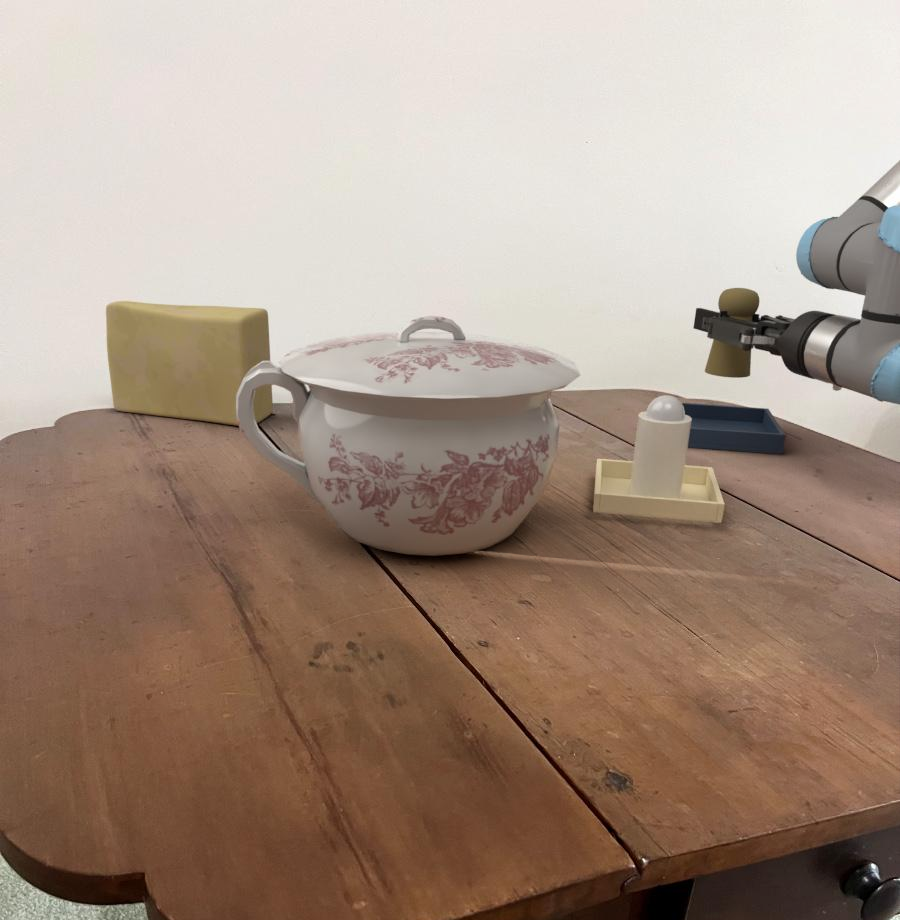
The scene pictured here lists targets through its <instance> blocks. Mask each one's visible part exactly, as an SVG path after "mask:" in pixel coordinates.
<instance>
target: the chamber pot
mask: <svg viewBox="0 0 900 920" xmlns="http://www.w3.org/2000/svg"><path fill="white" fill-rule="evenodd" d="M429 329H431V330H441V331H421V330H429ZM278 365H279V366H277V365H275V364H274V362H272V361H271V360H270V361H262V362H260V363H259V364H257V365H256V366H254V367H252V368H251V369H250V370H249V371H248V373H247V374H246V375H245V376H244V378H243V381H242V383H241V385H240V387H239V389H238V392H237V394H236V418H237V421H238V425H239V426H238V428H239V432H240V433H241V435H242V436H243V437H244V438H245V439H246V440H247V442H248V443H249V444H250V445H251V447H252V448H253V449H254V450H255V451H256V452H257V454H258V455H259V456H260V457H261V458H262V459H264V460H265V461H268V462H269V463H271V464H272V465H274V466H275V467H277V468H278V469H280V470H282V471H284V472H285V474H288V475H289V476H290V477H292V478H293V479H294V481H296V482H297V483H298V484H299V485H300V486H301V487H302V488H303V489H304V490H305V491H306V492H307V493H308V494H309V495H310V496H311V497H312V499H314V501H315V502H316V503H317V504H318V505H319V506H320V507H321V508H323V509H325V511H326V512H327V514H328V516H329V517H330V518H331V520H332V521H333V523H334V524H335V525H336V526H337V528H339V529H340V530H341V531H342V532H343V533H345V535H347V536H349V537H350V538H351V539H353V540H354V541H356V542H358V543H360V544H362V545H366V546H369V547H371V548H375V549H377V550H381V551H386V552H391V553H397V554H402V555H408V556H417V557H418V556H419V557H441V556H453V555H461V554H465V553H471V552H474V551H479V550H484V549H488V548H491V547H492V546H494V545H496V544H498V543H501V542H503V541H505V540H506V539H508V538H509V536H511V535H513V533H514V532H515V531H516V530H517V529H518V528H519V526H520V525H521V524H523V522H524V520H525V519H526V518H527V516H528V515H529V514H530V512H531V511H532V510H533V508H534V507H535V506H536V504H537V503H538V501H539V500H540V499H541V498H542V496H543V495H544V493H545V492H546V491H547V488H548V485H549V481H550V478H551V475H552V471H553V467H554V465H555V460H556V459H557V454H558V450H559V449H558V448H559V437H560V426H561V425H560V421H559V416H558V413H557V411H556V409H555V407H554V405H553V403H552V400H551V399H550V397H551V395H552V393H553V392H554V391H558V390H561V389H565V388H566V387H568V386H569V385H570V384H571V383H573V382H574V381H575V380H577V379H578V378H579V377H581V371H580V370H579V367H578V365H577V363H576V362H575V361H573V360H571V359H570V358H567V357H566V356H563V355H561V354H559V353H557V352H553V351H550V350H548V349H545V348H543V347H539V346H535V345H532V344H529V343H524V342H521V341H515V340H512V339H511V340H510V339H506V338H499V337H498V338H497V337H493V336H486V335H480V334H471V333H464V331H463V330H462V328H461V326H459V325H458V324H457V323H456V322H455V321H454V320H452V319H451V318H447V317H444V316H439V315H438V316H437V315H427V316H422V317H418V318H414V319H412V320H409V321H407V322H406V323H405V324H404V325H403V326H402V327H400V329H398V331H384V332H373V333H372V332H371V333H361V334H355V335H354V334H353V335H347V336H340V337H333V338H327V339H324V340H320V341H317V342H314V343H311V344H308V345H304V346H301V347H298V348H294V349H292V350H290V351H289V352H288V353H286V354H285V355H284V356H283V357H282V358H281V359H280V360H279V362H278ZM267 385H272V386H277V387H280V388H283V389H285V390H286V391H288V392H289V393H290V394H291V398H292V418H293V419H294V420H295V422H296V423H297V436H298V437H297V439H298V440H297V441H298V444H299V449H300V453H301V456H302V460H303V462H302V461H301V460H298V459H296V458H294V457H292V456H290V455H288V454H286V453H285V452H283V451H281V450H279V449H278V448H277V447H276V446H275V444H273V443H272V442H271V441H270V440H269V439H268V437H267V436H266V435H265V434H264V433H263V432H262V431H261V430H260V428H259V425H258V423H257V422H256V419H255V416H254V413H253V407H254V394H255V389H257V388H259V387H262V386H267ZM307 386H308V387H307Z"/></svg>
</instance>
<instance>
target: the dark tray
mask: <svg viewBox="0 0 900 920" xmlns="http://www.w3.org/2000/svg"><path fill="white" fill-rule="evenodd" d="M681 403H682V405H683V407H684V411H685V415H688V416H690V417H691V418H692V423H691V430H690V436H689V443H688V448H692V449H705V450H717V451H718V450H719V451H731V452H732V451H735V452H745V453H746V452H747V453H758V454H759V453H762V454H773V455H783V452H784V446H785V442H786V436H787V435H786V433H785V432H784V431H783V429H782V427H781V426H780V424H779V422H778V421H777V420H776V418H775V417H774V415H773V414H772V411H770V409H769V408H764V407H752V406H751V407H749V406H734V405H720V404H718V405H717V404H707V403H705V404H704V403H691V402H681Z"/></svg>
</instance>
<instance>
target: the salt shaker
mask: <svg viewBox="0 0 900 920" xmlns="http://www.w3.org/2000/svg"><path fill="white" fill-rule="evenodd" d="M682 403H683V402H681V400H679V399H678V398H677V397H675V396H673V395H666V394H665V395H660V396H658V397H655V398H654V399H653V400H652V401H651V402H650V403H649V404H648V407H647V408H646V410H645V411H641V412H639V413H638V415H637V421H636V422H637V424H636V431H635V438H634V439H635V440H634V449H633V455H632V457H633V458H632V461H633V464H632V472H631V480H630V489H629V495H639V496H651V497H663V498H676V499H680V498H681V491H682V484H683V477H684V471H685V465H687V456H688V450H689V447H688V443H689V436H690V430H691V423H692V418H691V417H690V416H688V415H685V411H684V407H683V405H682Z"/></svg>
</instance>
